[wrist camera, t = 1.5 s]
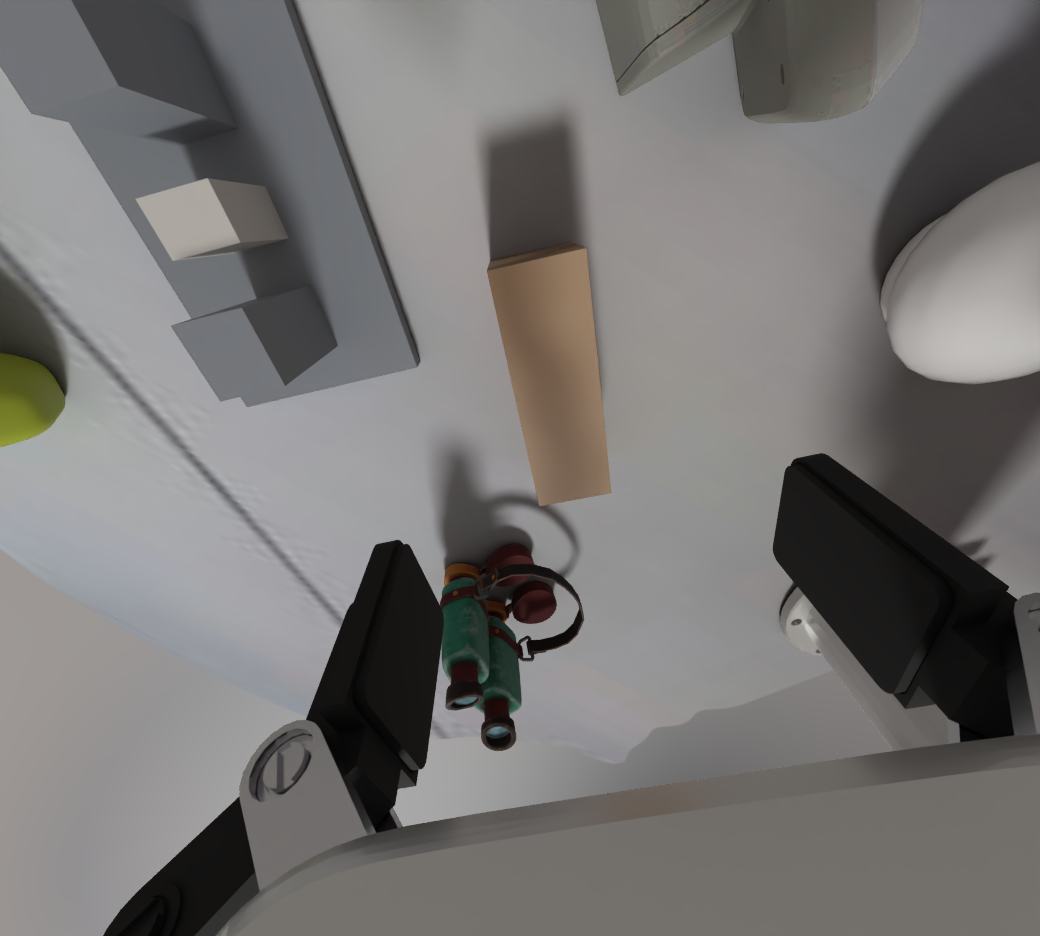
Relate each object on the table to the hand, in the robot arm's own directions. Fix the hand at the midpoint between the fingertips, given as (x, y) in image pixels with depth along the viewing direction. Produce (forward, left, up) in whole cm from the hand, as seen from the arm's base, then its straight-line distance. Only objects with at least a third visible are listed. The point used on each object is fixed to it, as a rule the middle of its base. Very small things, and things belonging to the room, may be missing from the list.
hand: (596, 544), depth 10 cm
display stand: (+12, -10, -15) cm, 21 cm away
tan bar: (0, 0, -15) cm, 15 cm away
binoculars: (+6, +16, -15) cm, 23 cm away
